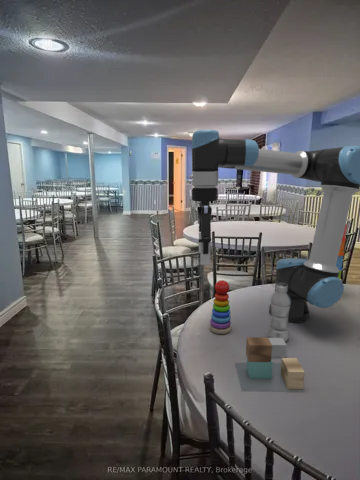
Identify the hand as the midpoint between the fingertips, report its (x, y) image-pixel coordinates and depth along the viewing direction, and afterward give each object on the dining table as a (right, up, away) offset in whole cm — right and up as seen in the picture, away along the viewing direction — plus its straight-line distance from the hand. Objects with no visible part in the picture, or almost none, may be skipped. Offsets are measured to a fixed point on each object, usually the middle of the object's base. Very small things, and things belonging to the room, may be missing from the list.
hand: (204, 258), depth 90 cm
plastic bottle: (+26, -29, +12) cm, 41 cm away
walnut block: (+14, -27, -8) cm, 32 cm away
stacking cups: (+61, -21, +49) cm, 81 cm away
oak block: (+23, -33, -10) cm, 41 cm away
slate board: (+17, -33, -8) cm, 38 cm away
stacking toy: (+8, -28, +19) cm, 34 cm away
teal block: (+15, -32, -7) cm, 36 cm away
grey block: (+22, -31, +3) cm, 38 cm away
